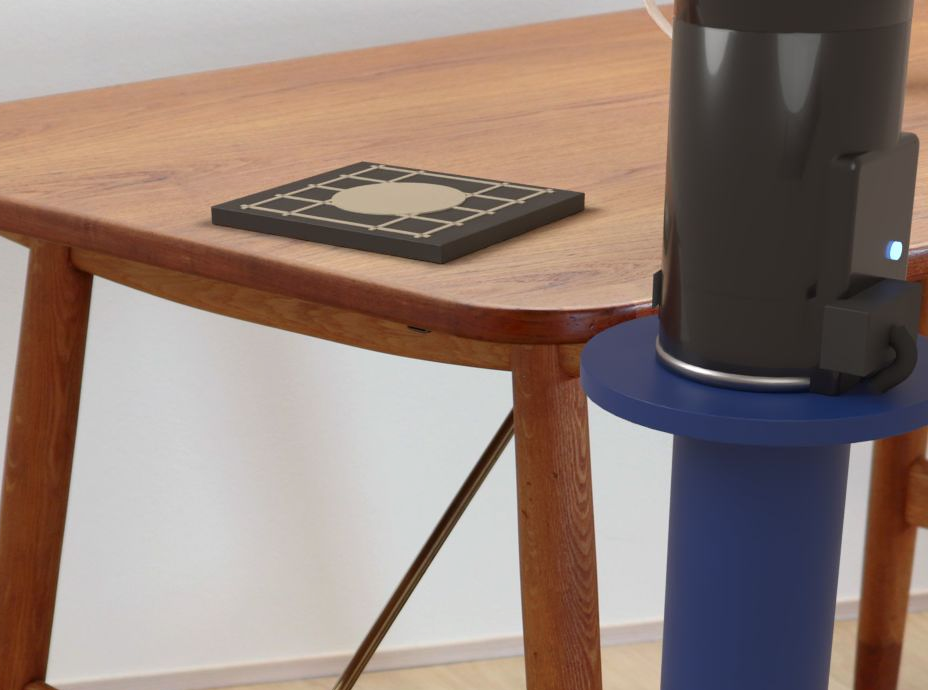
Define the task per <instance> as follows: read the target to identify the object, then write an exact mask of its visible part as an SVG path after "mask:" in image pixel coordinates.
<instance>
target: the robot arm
mask: <svg viewBox="0 0 928 690" xmlns="http://www.w3.org/2000/svg"><path fill="white" fill-rule="evenodd" d="M914 5H915V0H673V17H672V27H673V31H672V39H671V56H670V74H669V75H670V76H669V96H668V97H669V100H668V118H667V119H668V120H667V138H666V160H665V161H666V162H665V180H664V181H665V183H664V201H663V202H664V204H663V223H662V224H663V226H662V242H661V243H662V245H661V265H660V267H661V268H660V269H659V270H658V271H656V272H654V273H653V275H652V293H651V295H652V296H651V310H654V309H655V308H656V307H658V313H657V314H658V319H659V334H658V336H657V338H656V348H655V357H656V360H657V361H658V363H659V364H660V365H661V366H662V367H663V368H665V369H666V370H668V371H669V372H671V373H673V374H675V375H677V376H680V377H682V378H685V379H687V380H691V381H694V382H697V383H701V384H704V385H709V386H714V387H719V388H724V389H731V390H739V391H747V392H763V393H814V394H820V395H825V396H831V397H835V396H840V395H841V394H843V393H844V392H846V391H848V390H849V389H851V388H853V387H854V386H856V385H858V384H859V383H861V382H862V381H864V380H866V379H868V378H870V379H869V380H870V383H871V385H872V386H873V387H874V388H875V389H876V390H877V391H878V392H880V393H885V392H887V391H888V390H890V389H891V388H893V387H895V386H897V385H899V384H900V383H902V382H903V381H905V380H906V379H907V378H908V377H909V376H910V375H911V374H912V372H913V370H914V368H915V366H916V363H917V358H918V351H917V347H916V345H917V337H918V334H919V327H920V317H921V310H922V309H921V308H922V298H923V289H924V284H923V283H922V282H916V281H910V280H907V273H908V264H909V256H910V255H909V253H910V243H911V234H912V225H913V217H914V215H913V214H914V207H915V196H916V195H915V194H916V186H917V176H918V167H919V156H920V143H921V142H920V138H919V136H918V135H917V134H916V133H915V132H911V131H902V129H903V119H904V109H905V99H906V88H907V77H908V68H909V56H910V45H911V35H912V27H913V25H912V24H913V16H914V8H915V7H914Z"/></svg>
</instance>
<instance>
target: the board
mask: <svg viewBox="0 0 928 690" xmlns="http://www.w3.org/2000/svg"><path fill="white" fill-rule="evenodd" d="M585 203H586V193H585V192H584V191H575V190H569V189H568V190H567V189H563V188H561V189H560V188H554V187H547V186H539V185H533V184H526V183H518V182H512V181H504V180H499V179H498V180H497V179H490V178H484V177H476V176H470V175H469V176H468V175H462V174H456V173H448V172H443V171H436V170H435V171H433V170H427V169H419V168H414V167H413V168H412V167H407V166H406V167H405V166H398V165H391V164H384V163H378V162H371V161H363V160H362V161H359V162H355V163H352V164H349V165H345V166H342V167H339V168H338V167H337V168H335V169H332V170H329V171H325V172H321V173H319V174H316V175H315V174H314V175H312V176H308V177H305V178H302V179H298V180H295V181H292V182H289V183H285V184H282V185H278V186H275V187H271V188H268V189H265V190H262V191H259V192H254V193H251V194H248V195H245V196H241V197H238V198H235V199H232V200H228V201H225V202H222V203H218V204H215V205H211V207H210V213H211V214H210V215H211V224H212V225H218V226H224V227H230V228H234V229H242V230H246V231H252V232H257V233H264V234H268V235H269V234H270V235H275V236H281V237H286V238H293V239H299V240H304V241H310V242H314V243H315V242H316V243H322V244H327V245H333V246H338V247H344V248H349V249H354V250H355V249H356V250H361V251H367V252H372V253H379V254H383V255H390V256H394V257H395V256H396V257H402V258H407V259H411V260H412V259H413V260H418V261H424V262H429V263H435V264H441V265H442V264H444V263H447V262H450V261H452V260H455V259H458V258H461V257H463V256H466V255H468V254H471V253H473V252H476V251H479V250H482V249H484V248H487V247H489V246H492V245H495V244H497V243H500V242H503V241H505V240H509V239H511V238H513V237H516V236H518V235H522V234H524V233H527V232H530V231H533V230H534V229H537V228H540V227H543V226H546V225H548V224H551V223H553V222H556V221H559V220H561V219H564V218H566V217H569V216H571V215H574V214H577V213H580V212H582V211H584V210H585V209H586V208H585V206H586V204H585Z"/></svg>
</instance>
